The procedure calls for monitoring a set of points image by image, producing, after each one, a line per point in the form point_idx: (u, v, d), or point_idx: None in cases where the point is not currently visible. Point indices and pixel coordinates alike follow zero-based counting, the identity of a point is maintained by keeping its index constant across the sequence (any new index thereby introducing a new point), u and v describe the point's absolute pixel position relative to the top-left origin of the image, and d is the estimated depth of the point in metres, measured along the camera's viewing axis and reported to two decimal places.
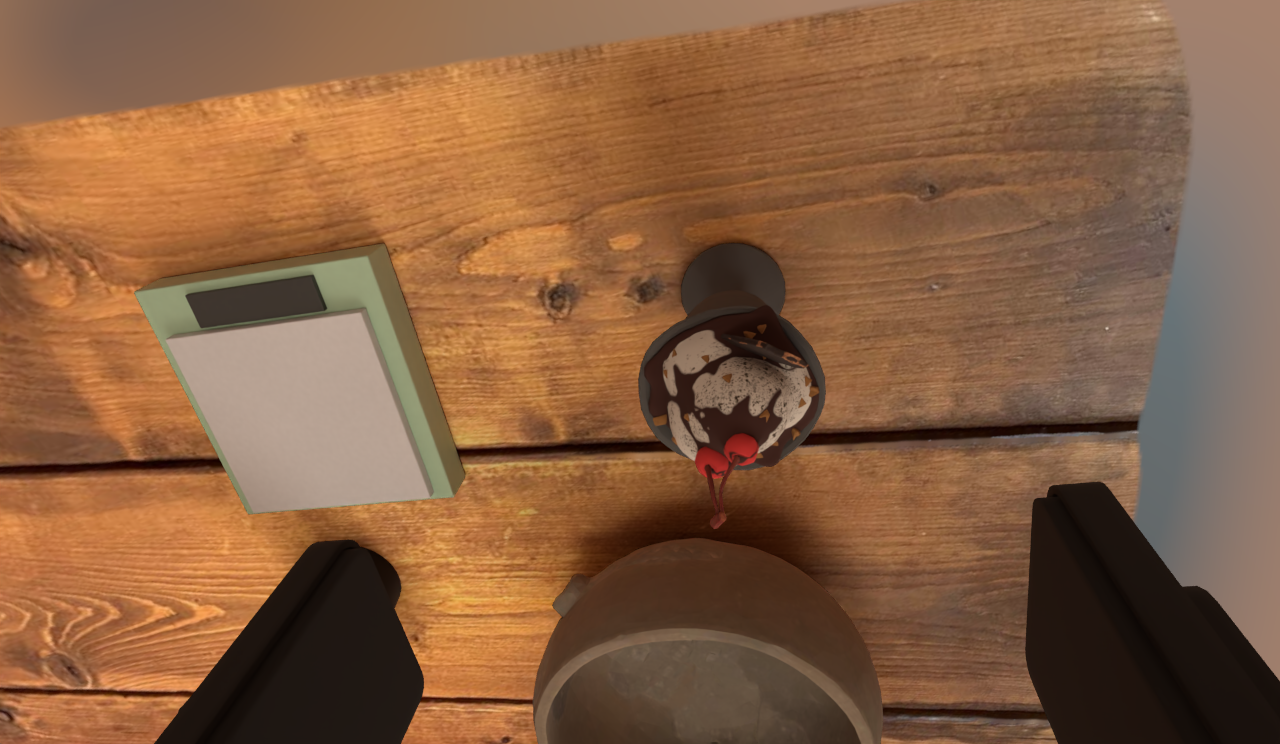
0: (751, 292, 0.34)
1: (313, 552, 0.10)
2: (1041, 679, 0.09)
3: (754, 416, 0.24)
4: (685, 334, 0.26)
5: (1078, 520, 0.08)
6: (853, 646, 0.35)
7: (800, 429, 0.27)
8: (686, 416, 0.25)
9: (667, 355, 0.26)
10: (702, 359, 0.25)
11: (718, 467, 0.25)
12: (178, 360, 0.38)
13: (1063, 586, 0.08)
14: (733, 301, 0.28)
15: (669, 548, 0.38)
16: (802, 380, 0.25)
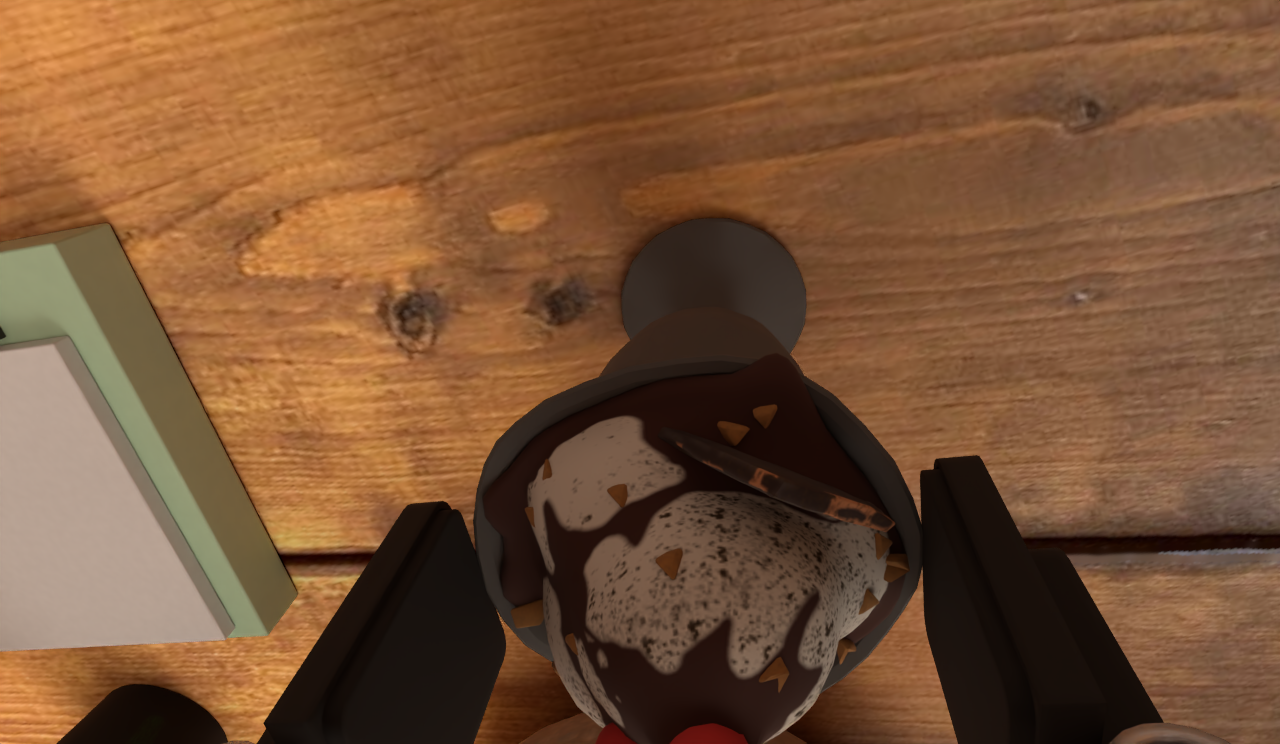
0: (745, 307, 0.19)
1: (410, 512, 0.11)
2: (933, 638, 0.10)
3: (744, 679, 0.08)
4: (572, 425, 0.10)
5: (951, 488, 0.09)
6: None
7: (856, 640, 0.11)
8: (569, 642, 0.10)
9: (533, 473, 0.11)
10: (610, 495, 0.10)
11: None
12: None
13: (938, 548, 0.09)
14: (701, 334, 0.13)
15: None
16: (869, 544, 0.10)
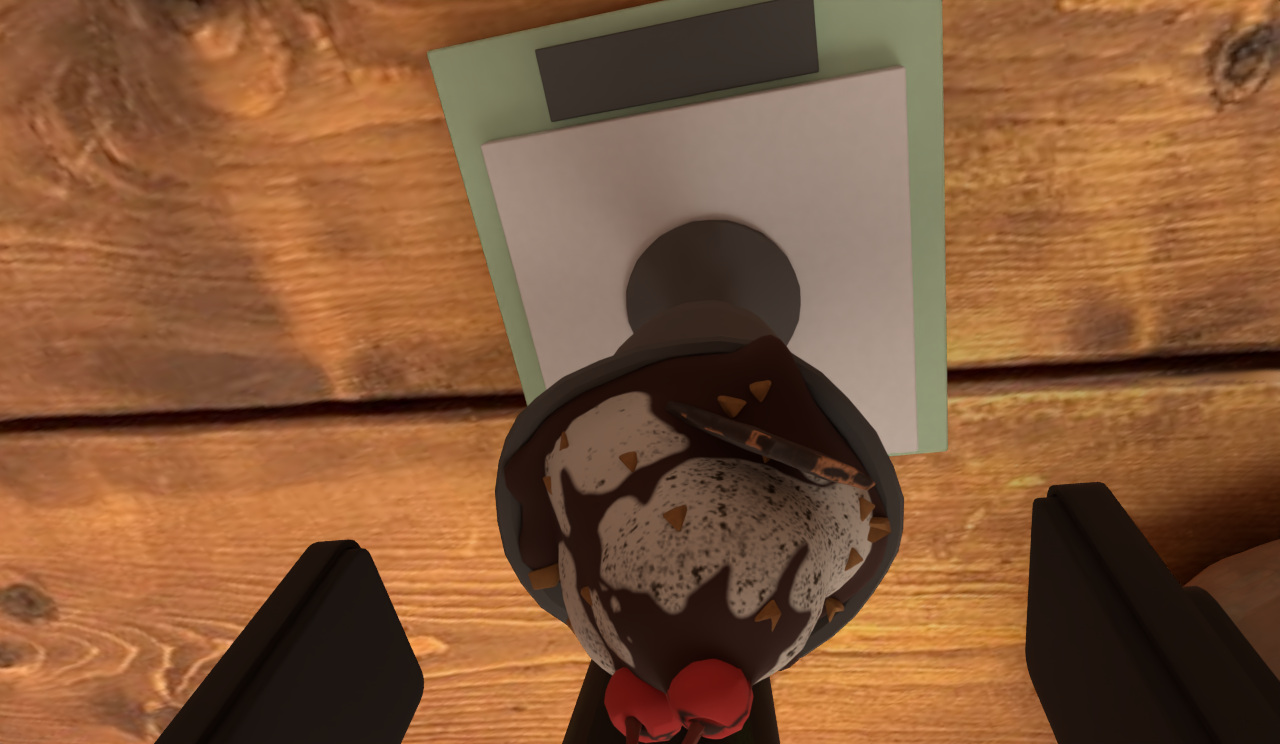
0: (743, 304, 0.20)
1: (313, 552, 0.10)
2: (1041, 679, 0.09)
3: (742, 618, 0.09)
4: (587, 400, 0.11)
5: (1078, 520, 0.08)
6: None
7: (844, 600, 0.12)
8: (585, 594, 0.11)
9: (550, 445, 0.12)
10: (621, 462, 0.11)
11: (656, 725, 0.10)
12: (497, 189, 0.20)
13: (1063, 586, 0.08)
14: (702, 323, 0.14)
15: None
16: (854, 507, 0.11)
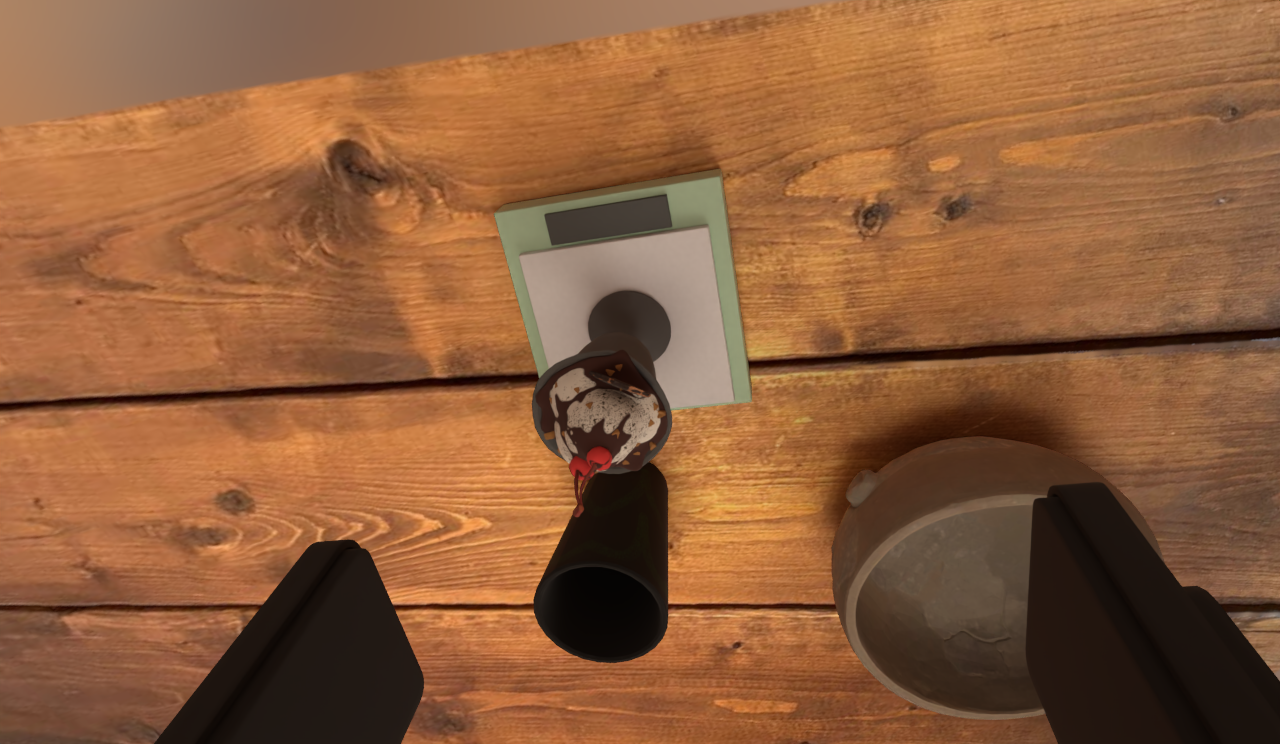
0: (641, 330, 0.42)
1: (313, 552, 0.10)
2: (1041, 679, 0.09)
3: (608, 434, 0.32)
4: (563, 371, 0.34)
5: (1078, 520, 0.08)
6: (1144, 519, 0.40)
7: (656, 442, 0.35)
8: (562, 433, 0.33)
9: (551, 386, 0.34)
10: (574, 390, 0.33)
11: (585, 471, 0.33)
12: (526, 275, 0.43)
13: (1063, 586, 0.08)
14: (609, 343, 0.36)
15: (959, 441, 0.43)
16: (651, 406, 0.34)
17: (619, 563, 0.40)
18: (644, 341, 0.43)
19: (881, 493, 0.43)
